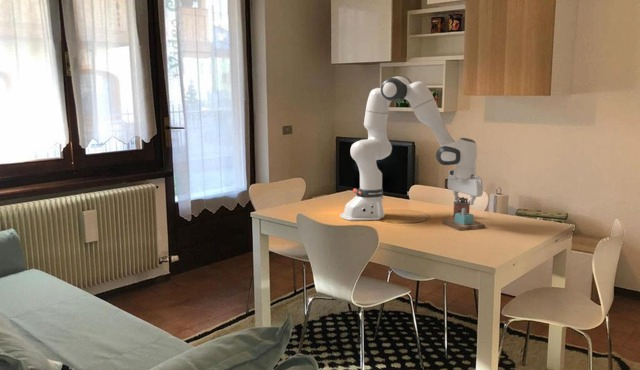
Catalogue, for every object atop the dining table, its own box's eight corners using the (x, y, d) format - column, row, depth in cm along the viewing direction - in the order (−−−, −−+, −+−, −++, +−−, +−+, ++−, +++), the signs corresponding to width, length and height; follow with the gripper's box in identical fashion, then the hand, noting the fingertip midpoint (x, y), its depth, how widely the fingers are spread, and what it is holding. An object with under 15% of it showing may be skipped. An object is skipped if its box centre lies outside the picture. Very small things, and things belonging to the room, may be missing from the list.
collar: (464, 224, 260) (464, 216, 259) (454, 222, 265) (454, 213, 264) (473, 223, 263) (473, 214, 262) (463, 220, 268) (463, 212, 267)
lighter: (470, 216, 282) (470, 197, 280) (468, 218, 279) (469, 198, 277) (453, 215, 285) (454, 196, 283) (452, 216, 282) (453, 197, 280)
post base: (459, 230, 255) (459, 212, 254) (442, 223, 268) (443, 206, 267) (485, 227, 260) (486, 209, 258) (468, 221, 273) (468, 204, 271)
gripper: (487, 176, 252) (485, 206, 255) (456, 169, 270) (454, 197, 273) (476, 177, 249) (474, 207, 252) (445, 170, 267) (444, 199, 270)
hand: (463, 202), depth 262 cm, fingers open, 8 cm apart
